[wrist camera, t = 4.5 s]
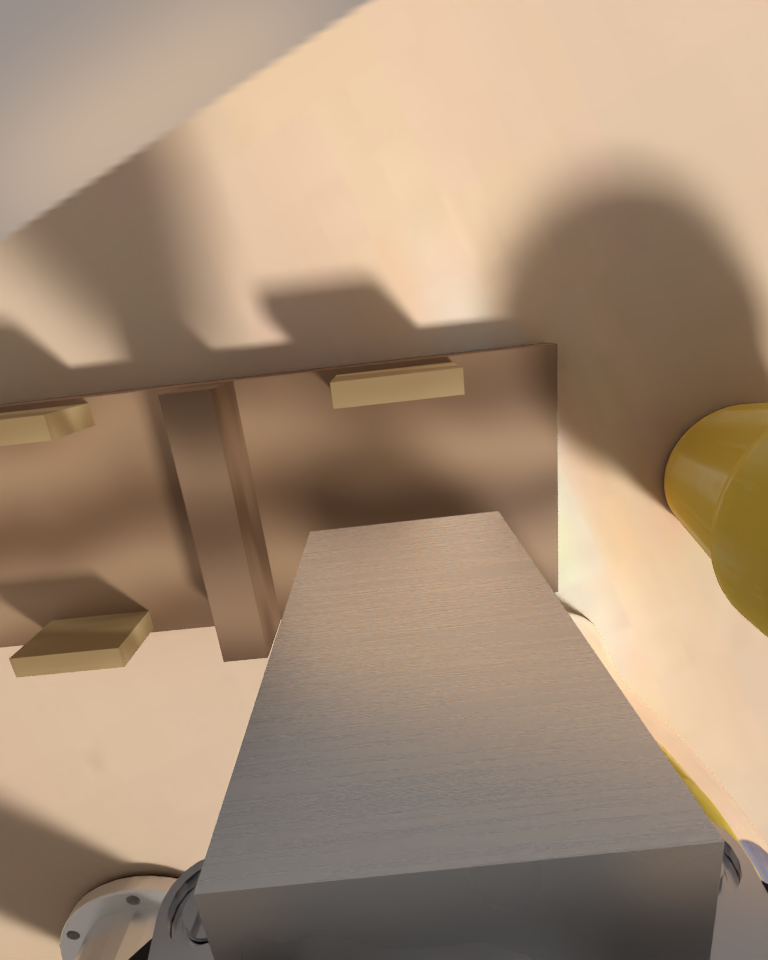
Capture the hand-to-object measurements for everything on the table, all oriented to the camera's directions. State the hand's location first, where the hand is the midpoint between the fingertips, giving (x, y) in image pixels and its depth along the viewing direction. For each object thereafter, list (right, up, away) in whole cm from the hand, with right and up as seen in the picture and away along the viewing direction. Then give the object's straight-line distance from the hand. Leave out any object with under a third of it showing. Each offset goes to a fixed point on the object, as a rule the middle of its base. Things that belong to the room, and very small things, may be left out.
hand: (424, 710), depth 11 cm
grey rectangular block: (0, 0, +1) cm, 1 cm away
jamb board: (-8, +4, +14) cm, 16 cm away
